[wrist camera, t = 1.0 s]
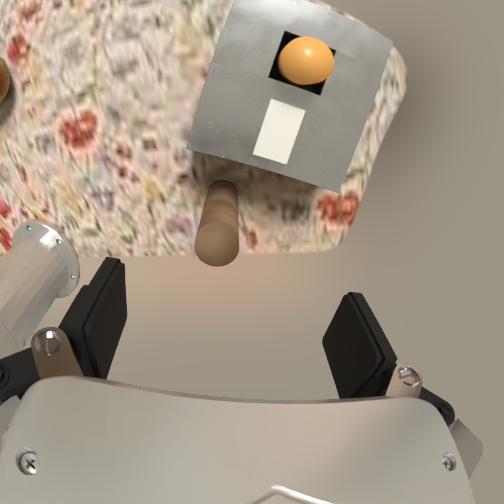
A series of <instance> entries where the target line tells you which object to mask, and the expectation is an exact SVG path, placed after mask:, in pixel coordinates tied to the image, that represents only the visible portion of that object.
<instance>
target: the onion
mask: <svg viewBox="0 0 504 504" xmlns="http://www.w3.org/2000/svg"><path fill="white" fill-rule="evenodd" d="M10 69H11V68H10ZM9 85H10V72H9V69H8V67H7V65H6V63H5V60H3V59H2V58H1V57H0V103H1V102H2V100H3V99H4V97H5V96H6V94H7V92H8V89H9Z"/></svg>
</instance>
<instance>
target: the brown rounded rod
mask: <svg viewBox="0 0 504 504" xmlns="http://www.w3.org/2000/svg"><path fill="white" fill-rule="evenodd" d="M195 252H196V254H197V256H198V257H199V259H200V260H201V261H203V262H204V263H206V264H208V265H211V266H224V265H227V264H229V263H231V262H232V261H233V260H234V259H235V258H236V256H237V254H238V252H239V232H238V198H237V189H236V187H235V186H234V185H233V184H232V183H231V182H229V181H226V180H219V181H216V182H214V183H213V184H212V185H211V186H210V188H209V191H208V194H207V198H206V202H205V205H204V209H203V213H202V217H201V221H200V225H199V229H198V233H197V237H196V241H195Z"/></svg>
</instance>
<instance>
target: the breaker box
mask: <svg viewBox="0 0 504 504" xmlns="http://www.w3.org/2000/svg"><path fill="white" fill-rule="evenodd" d="M304 36H307V37H314V38H317V39H319V40H321V41H322V42H324V43H325V44H326V45H327V46H328V47H329V49H330V50H331V52H332V54H333V57H334V67H333V70H332V73H331V74H330V75H329V77H328V78H326V79H325V80H324V81H321V82H319V83H314V84H309V85H303V86H296V85H292V84H289V83H287V82H286V81H284V80H283V79H282V78H281V77H280V76H279V74H278V72H277V70H276V58H277V56H278V54H279V53H280V51H281V50H282V49H283V48H284V47H285V46H286V45H287V44H288V43H289V42H291V41H292V40H294V39H296V38H298V37H304ZM392 43H393V41H391V40H389V39H388V38H386V37H384V36H383V35H381V34H379V33H377V32H375V31H373V30H372V29H370V28H368V27H366V26H364V25H362V24H360V23H358V22H356V21H354V20H352V19H350V18H347V17H345V16H343V15H341V14H339V13H336V12H334V11H332V10H329V9H327V8H324V7H322V6H320V5H317V4H314V3H312V2H309V1H306V0H235V1H234V3H233V6H232V8H231V11H230V13H229V16H228V18H227V21H226V23H225V26H224V29H223V31H222V34H221V37H220V40H219V42H218V45H217V48H216V51H215V54H214V57H213V60H212V63H211V66H210V69H209V72H208V75H207V78H206V81H205V84H204V88H203V91H202V94H201V97H200V101H199V104H198V108H197V111H196V115H195V118H194V122H193V125H192V129H191V133H190V137H189V140H188V144H187V148H186V149H189V150H193V151H197V152H201V153H205V154H209V155H213V156H217V157H221V158H225V159H229V160H233V161H237V162H240V163H244V164H247V165H251V166H255V167H258V168H262V169H265V170H268V171H272V172H275V173H278V174H282V175H285V176H288V177H291V178H295V179H298V180H301V181H304V182H307V183H310V184H313V185H316V186H319V187H322V188H325V189H328V190H331V191H333V192H336V193H338V192H339V190H340V187H341V185H342V182H343V180H344V177H345V175H346V172H347V170H348V167H349V165H350V162H351V160H352V157H353V155H354V152H355V150H356V147H357V144H358V142H359V139H360V137H361V134H362V131H363V129H364V126H365V123H366V120H367V118H368V115H369V112H370V109H371V107H372V104H373V101H374V98H375V95H376V92H377V90H378V87H379V84H380V81H381V78H382V75H383V72H384V69H385V66H386V63H387V59H388V56H389V53H390V50H391V47H392Z"/></svg>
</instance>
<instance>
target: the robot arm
mask: <svg viewBox="0 0 504 504" xmlns="http://www.w3.org/2000/svg"><path fill="white" fill-rule="evenodd" d="M79 278H80V266H79V261H78V258H77V255H76V253H75V250H74V248H73V247H72V245H71V243H70V242H69V240H68V239H67V238H66V237H65V235H64V234H63V233H62V232H61V231H60V230H58V229H57V228H56V227H55V226H53V225H52V224H50V223H48V222H45V221H43V220H38V219H32V220H28V221H26V222H24V223H23V224H21V225H20V226H19V227H18V228H17V229H16V231H15V233H14V235H13V239H12V247H11V248H10V249H9V250H8V251H7V252H6V253H5V254H4V255H3V256H2V257H1V258H0V504H475V501H474V497H473V493H472V490H471V486H470V482H469V478H470V476H471V474H472V472H473V471H474V469H475V467H476V465H477V463H478V461H479V459H480V457H481V455H482V453H483V446H482V443H481V442H480V440H479V439H478V438H477V437H476V436H475V435H474V434H473V433H472V432H471V431H470V430H469V429H468V428H467V427H466V426H465V425H464V424H463V423H462V422H461V421H460V420H459V419H457V420H456V421H455V420H454V419H455V413H454V410H453V408H452V407H451V405H450V404H449V403H448V402H446V401H445V400H443V399H441V398H440V397H438V396H437V395H435V394H433V393H432V392H430V391H428V390H427V389H425V388H423V387H422V377H421V375H420V373H419V371H418V370H416V368H414V367H413V366H411V365H409V364H405V363H402V364H399V365H397V364H396V360H397V357H396V355H395V353H394V351H393V349H392V347H391V345H390V343H389V341H388V340H387V338H386V336H385V334H384V332H383V330H382V328H381V327H380V325H379V323H378V321H377V319H376V317H375V316H374V314H373V312H372V310H371V308H370V307H369V305H368V303H367V302H366V300H365V298H364V296H363V295H362V294H361V293H355V292H349V293H348V294H347V295H344V297H343V298H342V300H341V303H340V305H339V307H338V309H337V311H336V313H335V315H334V317H333V319H332V321H331V323H330V325H329V327H328V329H327V331H326V333H325V335H324V337H323V342H322V344H323V347H324V350H325V353H326V356H327V360H328V363H329V366H330V369H331V372H332V375H333V378H334V381H335V384H336V388H337V391H338V395H339V398H340V399H328V400H262V399H242V398H227V397H216V396H205V395H197V394H188V393H181V392H174V391H167V390H161V389H155V388H149V387H143V386H137V385H131V384H126V383H121V382H117V381H111V380H106V379H107V376H108V373H109V369H110V366H111V363H112V360H113V357H114V354H115V351H116V348H117V345H118V342H119V339H120V337H121V334H122V331H123V328H124V326H125V323H126V319H127V304H126V287H125V265H124V263H121V261H120V259H117V258H111V257H106V258H105V260H104V261H103V263H102V264H101V266H100V268H99V269H98V271H97V272H96V274H95V275H94V277H93V279H92V280H91V282H90V284H89V285H84V286H83V287H82V288H81V290H80V291H79V293H78V294H77V296H76V298H75V299H74V301H73V303H72V304H71V306H70V308H69V310H68V311H67V313H66V315H65V317H64V318H63V320H62V322H61V324H60V325H59V327H58V328H56V327H46V328H42V329H40V330H39V331H37V332H36V333H35V334H34V335H33V333H34V331H35V330H36V328H37V326H38V325H39V323H40V321H41V320H42V318H43V317H44V315H45V313H46V312H47V310H48V309H49V307H50V306H51V304H52V303H53V301H54V300H55V298H60V297H65V296H68V295H69V294H70V293H72V291H73V290H74V289H75V287H76V286H77V284H78V281H79ZM32 335H33V337H32V339H31V347H30V348H27V349H25V350H24V348H25V347H26V345H27V343H28V341H29V340H30V338H31V336H32ZM8 425H9V426H8ZM7 429H8V430H7ZM6 430H7V433H6V436H5V439H4V442H3V445H1V438H2V435H3V433H4V432H5V431H6ZM37 455H38V456H37ZM33 459H34V460H33Z"/></svg>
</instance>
